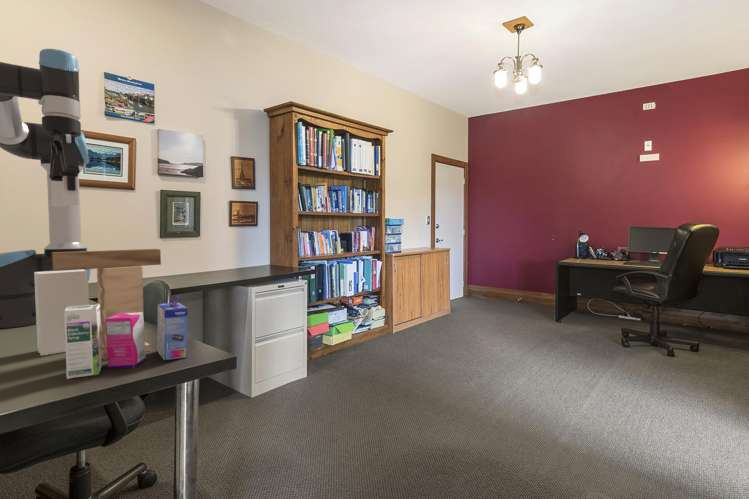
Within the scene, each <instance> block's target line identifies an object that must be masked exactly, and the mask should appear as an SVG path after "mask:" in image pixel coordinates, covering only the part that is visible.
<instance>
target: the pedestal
mask: <svg viewBox="0 0 749 499" xmlns="http://www.w3.org/2000/svg"><path fill="white" fill-rule="evenodd" d="M34 279H35V302H36V342H37V343H36V344H37V345H36V346H37V347H36V348H37V352H38V354H39V353H40V354H39V356H41V357H43V355H44V356H49V354H50V355H55V354H60V353H66V345H65V327H64V311H65V309H66V308H67V307H70V306H85V305H90V303H89V302H90V298H89V282H88V271H86V270H84V269H80V270H64V271H44V272H34Z"/></svg>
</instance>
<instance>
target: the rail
mask: <svg viewBox="0 0 749 499" xmlns="http://www.w3.org/2000/svg"><path fill="white" fill-rule="evenodd" d="M161 255H162V254H161V249H160V248H144V249H143V248H139V249H138V248H137V249H115V250H114V249H113V250H112V249H111V250H107V249H106V250H87V251H77V252H52V266H53V270H55V271H64V270H80V269H91V270H97V268H113V267H130V266H142V267H144V266H158V265H159V266H161V265H162V258H161V257H162V256H161Z"/></svg>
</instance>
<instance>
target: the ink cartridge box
mask: <svg viewBox="0 0 749 499" xmlns="http://www.w3.org/2000/svg"><path fill="white" fill-rule="evenodd" d="M180 298H181V296H180V295H179V294H176V295H175V297H174V298H173V300H172V302H167V303H166V302H165V303H159V304H157V332H156V333H157V338H156V340H157V342H156V344H157V345H156V346H157V349H156V350H157V352H158V354H159V356H160V357H161V359H163V361H172V360H178V359H187V358H188V310H189V309H188V307H186V306H185V305H183V304H182V303H181V302H179V301H180Z"/></svg>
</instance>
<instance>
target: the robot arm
mask: <svg viewBox="0 0 749 499" xmlns="http://www.w3.org/2000/svg"><path fill="white" fill-rule="evenodd" d="M38 55H39V56H38V58H39V60H38V64H39V68H34V67H29V66H24V65H18V64H14V63H13V64H12V63H7V62H2V61H0V149H2V150H3V151H5V152H7V153H9V154H11V155H13V156H16V157H18V158H23V159H28V160H36V161H37V160H38V161H40V166H41V168H43V169H44V170H45V171H46V180H47V181H46V183H47V185H46V186H47V207H48V230H49V232H48V234H49V242H48V244H47V245H45V247H44V250H43V253H37V251H36V249H26V250H25V249H24V250H16V251H9V252H8V251H7V252H3V253H2V252H1V253H0V329H7V328H10V329H11V328H17V327H24V326H25V327H26V326H29V325H35V324H36V302H35V279H34V272H44V271H55V270H53V266H52V252H77V251H88V246H86V245H85V244H84V243H83V242H82V226H81V225H82V224H81V205H80V204H81V197H80V194H81V193H80V173H81V172H82V171H83V170H84V169H85V165H87V164H89V162H90V160H89V159H90V158H89V151H88V147H87V142H86V137H85V134H84V132H83V131H82V127H81V126H82V125H81V122H80V120H81V118H82V117H81V101H80V100H81V99H80V69H79V68H80V67H79V60H78V58H77V57H76V56H75V55H74V54H73V53H70V52H67V51H65V50H60V49H55V48H44V49H41V50H40V51H39V54H38ZM18 98H23V99H29V100H37V104H38V105H40V106H41V114H42V115H43V116H42V117H41V123H36V122H35V123H33V122H28V121H23V120H22V115H21V109H20V103H19V100H18ZM84 270H86V271H88V283H89V281H90V278H91V272H92V269H84Z"/></svg>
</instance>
